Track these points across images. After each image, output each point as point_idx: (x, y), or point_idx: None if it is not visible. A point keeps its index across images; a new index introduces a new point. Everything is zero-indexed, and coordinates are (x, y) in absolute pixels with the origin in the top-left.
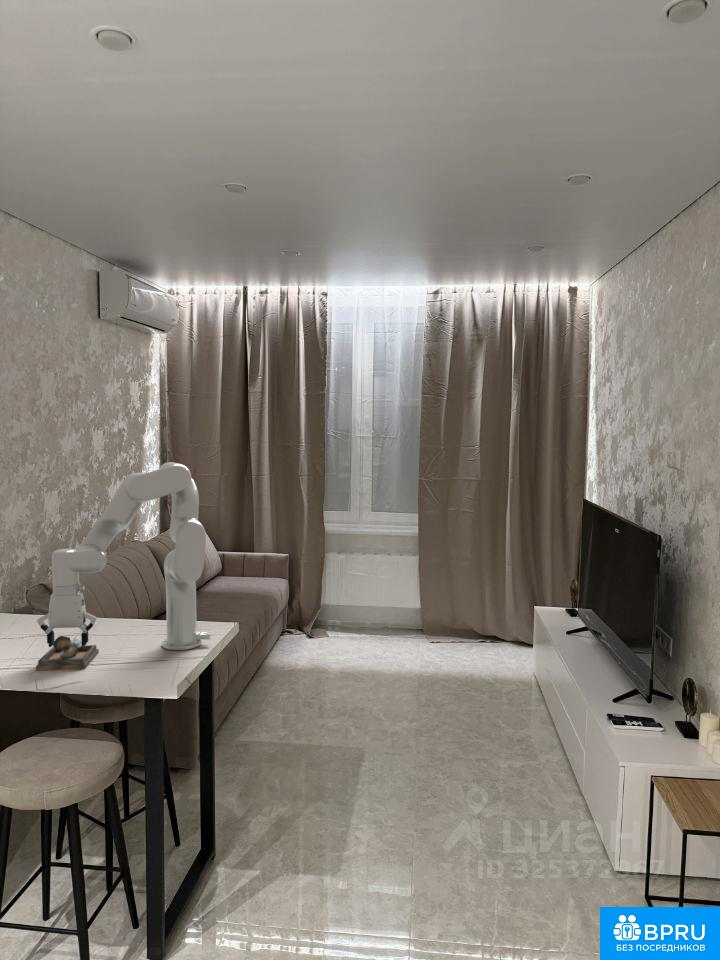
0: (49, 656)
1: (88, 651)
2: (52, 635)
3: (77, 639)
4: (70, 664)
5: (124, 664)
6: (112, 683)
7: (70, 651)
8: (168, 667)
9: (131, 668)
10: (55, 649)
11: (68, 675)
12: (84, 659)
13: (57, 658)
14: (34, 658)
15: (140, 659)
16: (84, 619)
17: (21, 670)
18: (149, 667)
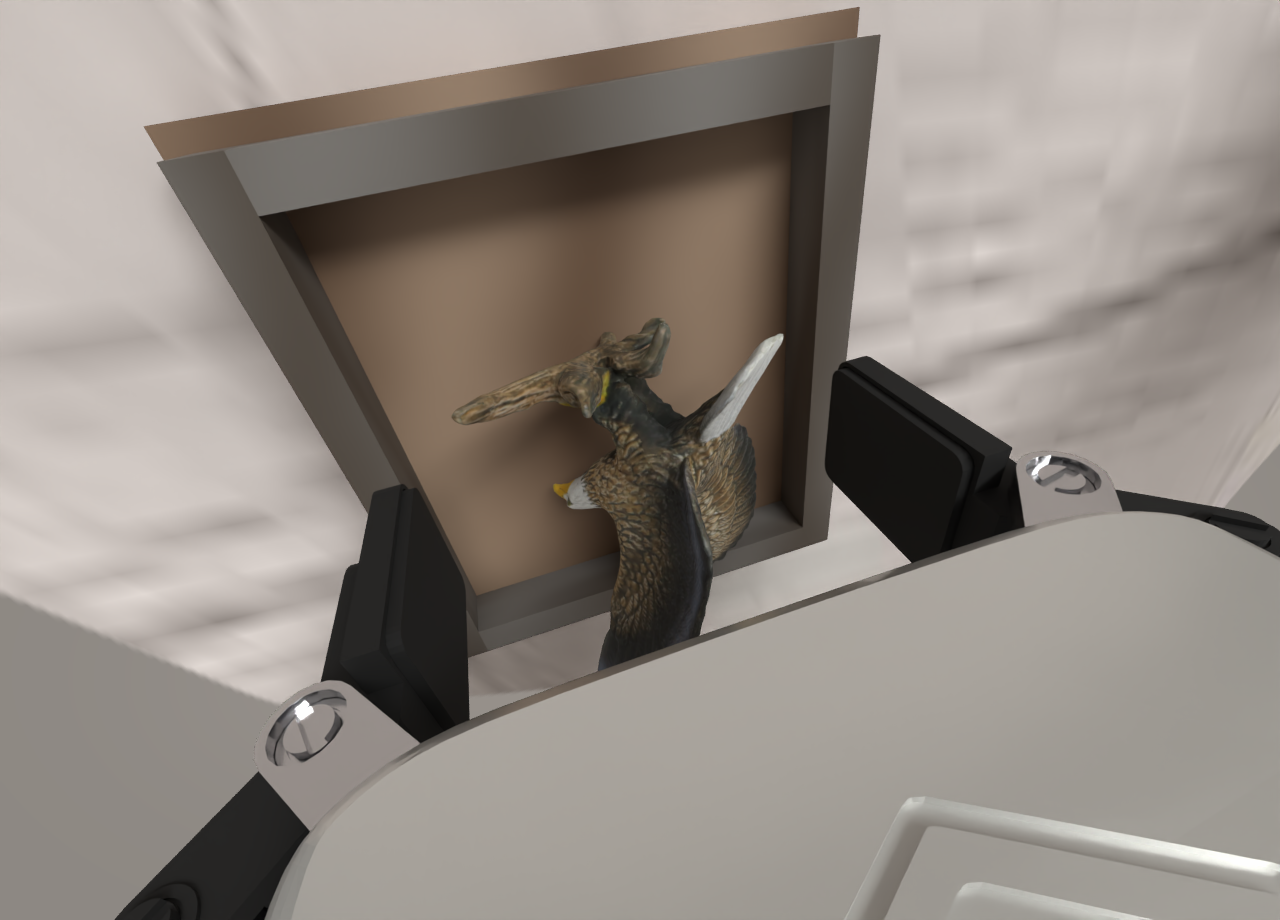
0: (403, 463)
1: (825, 346)
2: (442, 665)
3: (751, 371)
4: None
5: (1047, 362)
6: None
7: (718, 549)
8: (1262, 365)
9: (1074, 423)
10: (284, 241)
11: (728, 604)
12: (824, 517)
13: (505, 445)
14: (75, 354)
15: (1176, 228)
16: (1241, 552)
17: (317, 640)
18: (1171, 386)
